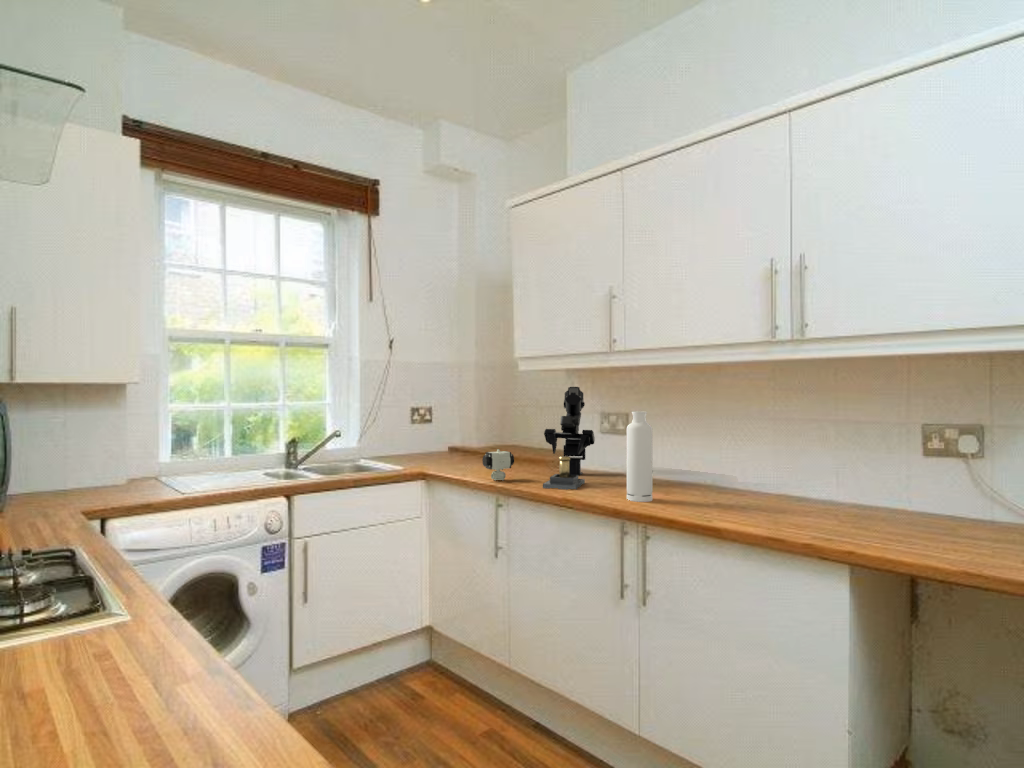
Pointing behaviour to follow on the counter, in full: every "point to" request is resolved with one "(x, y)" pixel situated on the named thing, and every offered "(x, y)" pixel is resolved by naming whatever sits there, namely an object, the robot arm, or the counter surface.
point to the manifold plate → (564, 482)
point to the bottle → (639, 459)
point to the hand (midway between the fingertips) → (565, 453)
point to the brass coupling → (564, 466)
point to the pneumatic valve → (498, 463)
